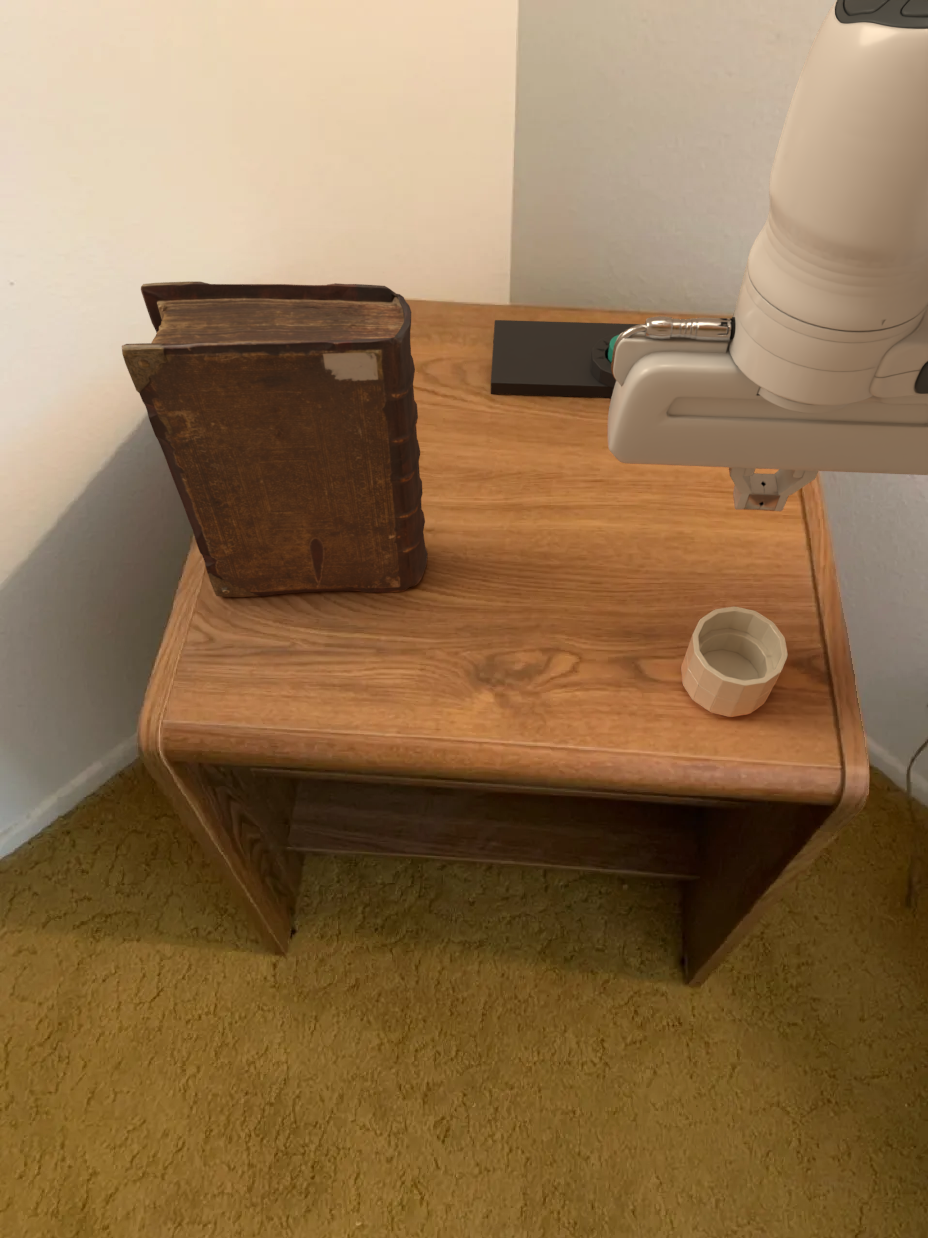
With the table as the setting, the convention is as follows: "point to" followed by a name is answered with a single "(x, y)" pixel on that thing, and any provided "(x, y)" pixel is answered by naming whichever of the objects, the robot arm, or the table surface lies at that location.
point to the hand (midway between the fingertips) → (756, 502)
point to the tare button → (611, 348)
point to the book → (288, 432)
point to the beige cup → (733, 661)
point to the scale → (553, 358)
